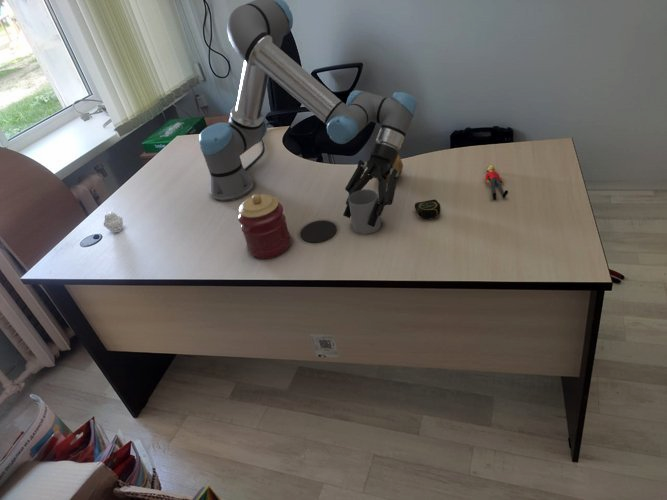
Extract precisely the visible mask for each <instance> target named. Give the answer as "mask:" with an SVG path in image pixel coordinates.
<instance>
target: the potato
mask: <svg viewBox="0 0 667 500" xmlns="http://www.w3.org/2000/svg"><path fill="white" fill-rule="evenodd" d="M403 168H404V164H403V161H402V159H401V157H400V155H399V154H398V156H397V159H396V161H395V163H394V164H393V169H396V170H398V171H399V172H400V175H401V174H402V172H403ZM389 177H390V174H388V175H387V183H388V182H389ZM375 180H377V181H378V178H375Z"/></svg>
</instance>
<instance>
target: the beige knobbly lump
mask: <svg viewBox="0 0 667 500" xmlns="http://www.w3.org/2000/svg"><path fill="white" fill-rule="evenodd" d="M123 225H124V221H123V217H122V216H120V215H118V214H116V213H115V212H114V211H110V212H108V213H106V214H105V215H104V221H103V227H105V228H106V229H107V230H108V231H110V232H112V233H114V234H115V233H116V234H117V233H119V232H121V231H122V230H123Z"/></svg>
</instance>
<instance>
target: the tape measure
mask: <svg viewBox="0 0 667 500" xmlns="http://www.w3.org/2000/svg"><path fill="white" fill-rule="evenodd" d="M414 209H415V211H416V213H417V215H418V217H419V218H421V219H422V220H423V219H424V220H432V219H436V218H438V217H439V216H440V215H441V204H440V202H439V201H438V200H437V199H429V200H428V199H427V200H423V201H418V202H415V203H414Z"/></svg>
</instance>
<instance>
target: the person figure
mask: <svg viewBox="0 0 667 500" xmlns="http://www.w3.org/2000/svg"><path fill="white" fill-rule="evenodd" d="M486 171H487V173H486V174H485V182H486V184H488V185H489V184H490V187H491V193H492V199H493V201H496V200H497V192H496V186H497V187H498V190H499V192H500V194H501V196H502V198H506V197H507V195H509V191H508V190H507V189H506V190H504V189H503V186H502V185H503V184H504V180H502V179H501V176H500V175H499V173H498V172H497V171H496V168H495V165H494V164H489V165H488V166H487V168H486ZM489 179H490V180H489Z"/></svg>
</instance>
